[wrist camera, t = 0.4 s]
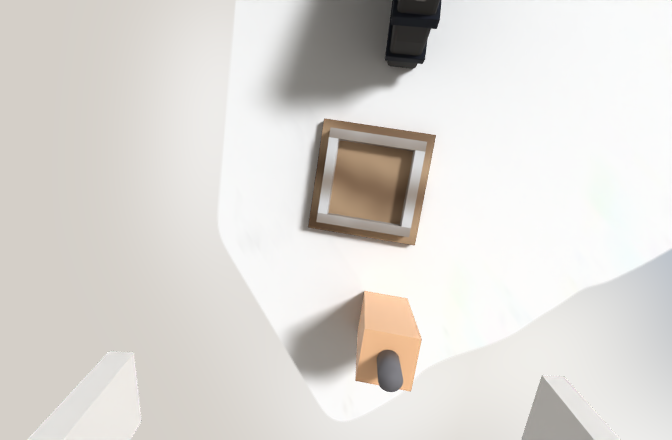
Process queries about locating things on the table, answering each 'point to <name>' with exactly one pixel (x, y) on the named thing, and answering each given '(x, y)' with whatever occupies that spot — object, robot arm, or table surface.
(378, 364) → the orange bottle
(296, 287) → the table surface
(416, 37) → the magazine
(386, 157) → the tray
